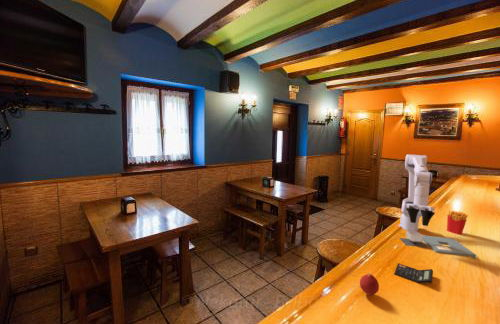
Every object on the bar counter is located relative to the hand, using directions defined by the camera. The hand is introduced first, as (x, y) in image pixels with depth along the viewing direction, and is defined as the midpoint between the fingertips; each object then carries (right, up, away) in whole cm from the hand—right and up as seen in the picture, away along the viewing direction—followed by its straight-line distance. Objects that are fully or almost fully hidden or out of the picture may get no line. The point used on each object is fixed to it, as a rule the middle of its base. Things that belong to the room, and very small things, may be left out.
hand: (418, 224), depth 117 cm
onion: (-41, -16, -34) cm, 56 cm away
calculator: (-18, -15, -22) cm, 32 cm away
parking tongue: (-1, -11, +3) cm, 11 cm away
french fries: (+34, -10, +19) cm, 40 cm away
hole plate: (+13, -12, 0) cm, 17 cm away
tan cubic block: (-1, -10, +3) cm, 10 cm away
